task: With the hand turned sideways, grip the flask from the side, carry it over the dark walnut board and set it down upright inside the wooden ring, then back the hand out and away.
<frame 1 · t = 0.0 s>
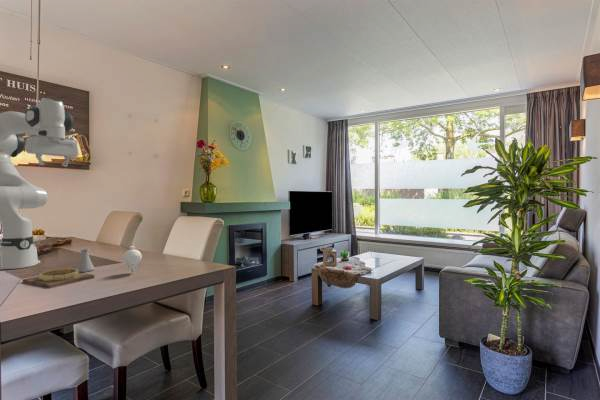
hand: (53, 165, 151), 48 cm above the table, tool pointing down, fingers open, 8 cm apart
spinning top: (132, 273, 151), on the table
flask: (85, 271, 156), on the table
walnut board: (59, 280, 140), on the table
wooden ring: (59, 274, 140), on the walnut board, point 2 cm above the table
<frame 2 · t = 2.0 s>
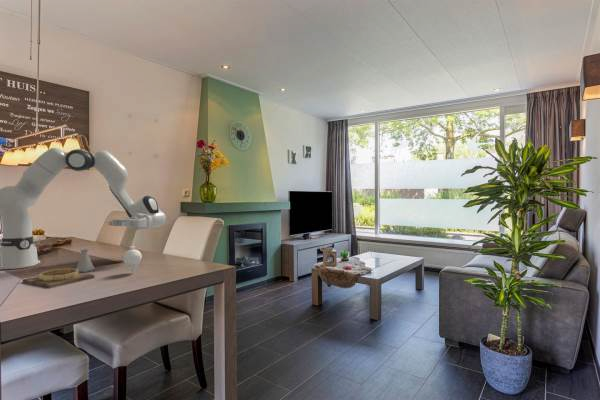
hand: (114, 223, 169), 20 cm above the table, tool horizontal, fingers open, 8 cm apart
nothing on the table moved.
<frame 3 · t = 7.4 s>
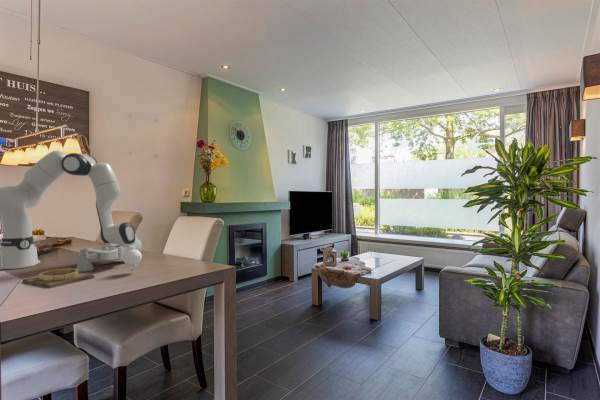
hand: (82, 256, 155), 7 cm above the table, tool horizontal, fingers open, 3 cm apart
flask: (84, 270, 156), on the table, touching gripper
everything else where it was.
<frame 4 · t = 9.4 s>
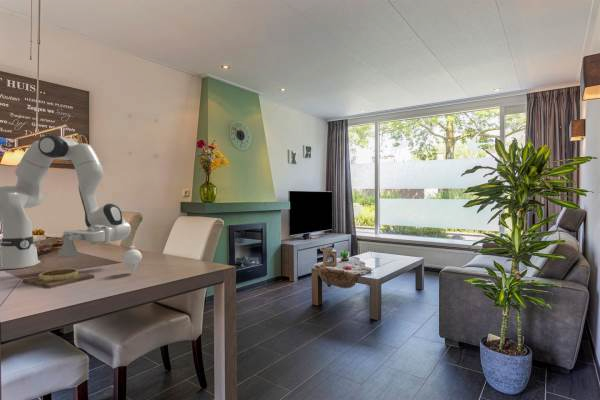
hand: (65, 237, 143), 17 cm above the table, tool horizontal, fingers closed on flask, 3 cm apart
flask: (68, 257, 145), point 8 cm above the table, touching gripper
everything else where it was.
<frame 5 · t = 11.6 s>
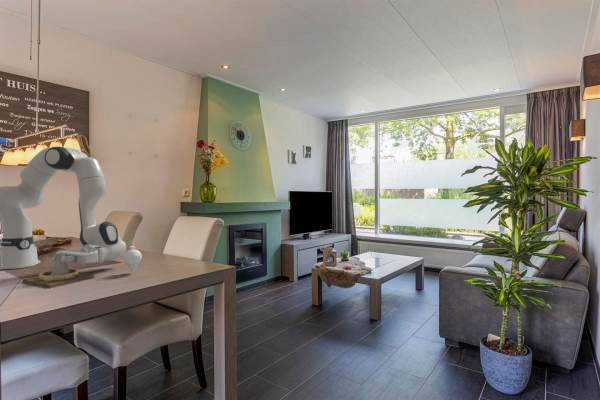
hand: (57, 259, 139), 9 cm above the table, tool horizontal, fingers closed on flask, 3 cm apart
flask: (60, 277, 140), point 1 cm above the table, touching gripper, walnut board
everything else where it was.
when the fingers open (9 cm above the table, at t = 11.9 s): flask stays where it is, resting on walnut board.
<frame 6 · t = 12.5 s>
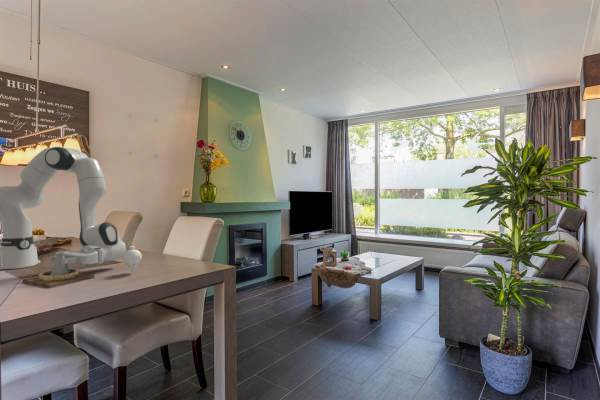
hand: (56, 260, 139), 8 cm above the table, tool horizontal, fingers open, 8 cm apart
flask: (60, 277, 140), point 1 cm above the table, touching walnut board
everything else where it was.
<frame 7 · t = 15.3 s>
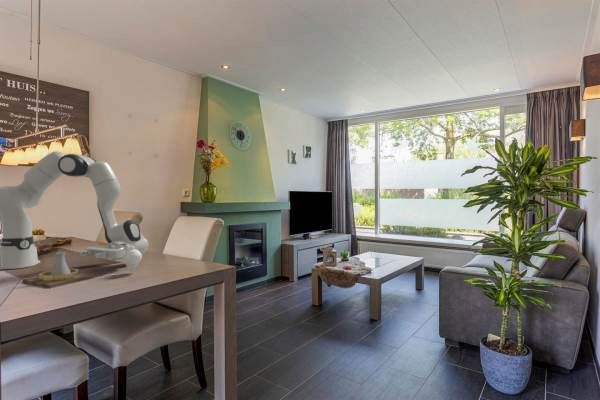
hand: (88, 255, 150), 8 cm above the table, tool horizontal, fingers open, 8 cm apart
nothing on the table moved.
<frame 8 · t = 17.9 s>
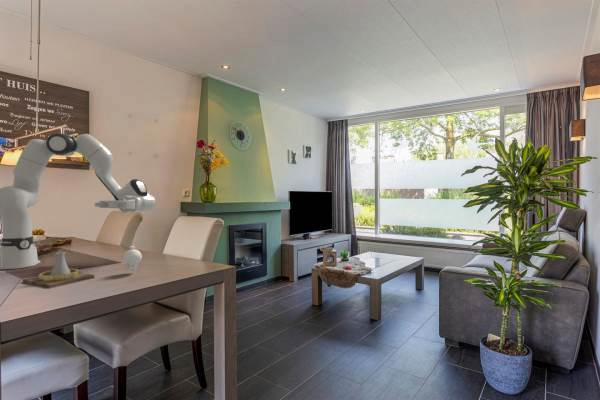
hand: (101, 204, 164), 30 cm above the table, tool horizontal, fingers open, 8 cm apart
nothing on the table moved.
at the end: flask 0.4 cm off-centre on the wooden ring, point 1.0 cm above the wooden ring's base; flask tilted 0°; the gripper is holding nothing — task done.
